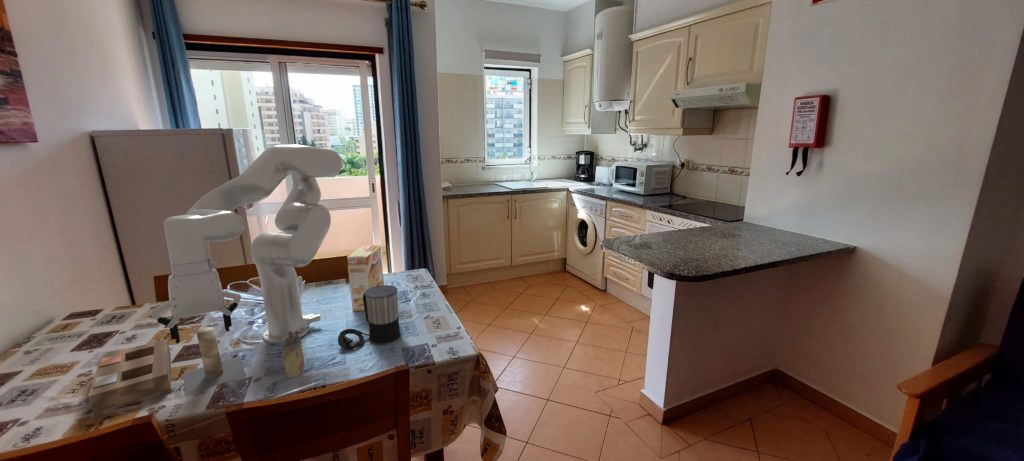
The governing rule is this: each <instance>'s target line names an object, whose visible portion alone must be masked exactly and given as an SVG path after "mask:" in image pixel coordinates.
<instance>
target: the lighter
mask: <svg viewBox="0 0 1024 461" xmlns="http://www.w3.org/2000/svg"><path fill="white" fill-rule="evenodd" d="M289 336H290V338H289ZM283 343H284V344H283V345H282V350H281V351H282V358H283V363H284V371H285V377H286V378H295V377H297V376H300V375H301V374H302V371H303V369H304V367H305V360H304V359H305V358H304V351H303V350H304V349H303V344H302V340H301V337H299V336H298V331H295V333H294V334H292V331H290V332H289V335H288V337H287V338H286V339H285V340H284V342H283Z"/></svg>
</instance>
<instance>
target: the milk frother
mask: <svg viewBox="0 0 1024 461" xmlns="http://www.w3.org/2000/svg"><path fill="white" fill-rule="evenodd" d="M398 291H399V290H398V287H396V286H394V285H389V284H388V285H387V284H384V285H381V286H376V287H372V288H369V289H367V290H366V291H365V292H364V294H363V303H364V310H365V311H364V316H365V321H366V323H368V333H365V332H362V331H360V330H357V329H355V328H346V329H343V330H341V331H340V332H339V334H338V337H337V344H338V345H339V346H340V347H341V348H342V349H346V350H354V349H357V348H359V347H360V346H362V345H363V343H364V339H365V337H364V336H367V337H368V341H369V342H370V343H372V344H376V345H385V344H391V343H393V342H396V341H398V339H399V340H400V338H401V336H402V335H401V334H402V333H401V330H400V321H399V320H400V319H399V304H398V303H399V302H398ZM351 334H352V335H355V336H357V337H358V339H359V340H358V342H355V343H353V342H354V339H353V338H352V339H351V338H349V337H348V336H346V335H351Z"/></svg>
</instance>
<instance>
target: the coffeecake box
mask: <svg viewBox="0 0 1024 461" xmlns="http://www.w3.org/2000/svg"><path fill="white" fill-rule="evenodd" d="M346 260H347V270H348V279H349V289H350V297H351V298H350V300H351V308H352V312H353V311H354V312H357V311H358V312H365V310H364V303H363V294H364V292H365V291H366V290H367V289H369V288H372V287H376V286H381V285H385V282H384V270H383V269H384V268H383V257H382V245H379V244H378V245H376V244H375V245H374V244H367V245H362V246H360V247H359V248H357V249H356V250H355V251H353V252H352V253H350V254H349V255H347V256H346Z"/></svg>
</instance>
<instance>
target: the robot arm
mask: <svg viewBox="0 0 1024 461" xmlns="http://www.w3.org/2000/svg"><path fill="white" fill-rule="evenodd" d="M342 169H343V160H342V158H341V156H340V154H339V153H338V152H337V151H335V150H334V149H329V148H321V147H315V146H310V145H303V144H276V145H271V146H269V147H267V148H266V149H265V150H263V151H262V152H261V154H260V155H259V156H258V157H257V158H256V159H255V160H254V161H253V162H252V163H251V164H250V165H248V167H247V168H245V169H244V171H243V172H241V173H240V175H238V176H236V177H234V178H233V179H230V180H229V181H227V182H225V183H223V184H221V185H220V186H218V187H215V188H214V189H212V190H210V191H209V192H207V193H206V194H204V195H203V196H202V197H200V199H198V200H197V201H196V202H195V203H194V204H193V205H192V206H191V207H190V208H189V209H188V211H187V212H185V214H181V215H174V216H173V215H172V216H169V217H166V219H165V220H164V222H163V230H164V236H165V240H166V247H167V252H168V258H169V263H170V269H171V274H170V275H168V278H167V279H168V281H167V282H168V283H167V289H168V299H169V300H167V301H166V302H164V303H162V304H160V305H159V306H157V307H155V308H154V309H152V310H150V313H149V314H150V316H151V317H152V318H153V319H154V320H156V322H158V323H159V324H161V325H163V326H165V327H167V328H168V329H169V332H170V338H171V340H172V341H173V340H175V343H176V344H179V343H180V342H181V336H180V331H179V327H178V326H179V325H178V322H179V321H180V319H184V318H189V317H195V316H200V315H203V314H204V315H205V314H208V313H209V314H210V313H214V312H217V311H219V312H221V314H222V317H223V318H222V319H223V324H224V330H225V332H227V333H228V332H230V327H232V326H233V322H232V316H231V315H232V313H233V312H234V311H235V310H236V308H237V307H239V306H238V305H239V303H240V301H241V299H242V295H241V294H240V293H236V292H231V291H228V290H223V288H222V282H221V278H220V276H219V273H218V270H217V269H216V268H215V266H218V265H220V261H219V260H220V259H215V258H211V251H210V245H209V244H210V243H215V242H216V243H217V242H218V243H219V242H227V241H228V242H229V241H233V240H235V239H237V238H239V237H240V236H242V234H243V233H244V232H245V228H246V223H245V220H244V218H243V217H242V216H241V215H240V214H239V213H237V212H234V210H236V209H238V208H240V207H243V206H248V205H250V204H255V203H257V202H260V201H262V200H265V199H267V198H269V196H271V195H272V193H273V192H274V191H275V189H276V188H278V186H279V185H280V184H281V183H282V182H283V181H284V180H285V179H286V177H288V176H291V177H292V188H291V190H290V192H289V194H288V195H287V197H286V199H285V200H284V202H283V204H282V205H281V206H280V208H279V210H278V211H277V213H276V215H275V218H274V224H275V227H276V228H277V230H279V231H268V232H267V231H266V232H263V233H260V234H258V235H257V236H256V237H255V238H254V239H253V241H251V242H252V243H251V246H250V253H251V256H252V257H251V258H252V259H253V262H254V264H255V266H256V269H257V273H258V276H259V281H260V287H261V288H260V289H261V293H262V299H263V306H264V312H265V319H266V324H267V325H266V326H267V329H266V330H265V331H264V332H263V334H262V339H263V341H265V342H267V343H272V344H280V343H285V342H284V340H285V339H286V338H287V337H288V335H289V332H290V331H292V334H294V333H295V331H298V336H299V337H300V338H303V337H304V336H305V335H307V334H308V333H309V332H310V330H311V323H316V322H320V321H321V320H322V319H321V315H320V314H316V315H315V314H314V313H311V314H308V315H304V313H303V308H302V300H301V295H300V286H299V279H298V275H297V271H296V269H295V268H303V267H306V266H307V265H309V264H311V262H312V261H313V260H314V258H315V257H316V254H317V253H318V252H319V250H320V247H321V246H322V244H323V242H324V240H325V238H326V236H327V234H328V233H329V230H330V228H331V224H332V223H331V220H332V217H331V213H330V211H329V209H328V208H327V207H326V206H325V205H323V204H320V200H321V197H322V193H321V188H320V186H319V183H318V180H317V178H333V177H336V176H337V175H339V174H340V172H342ZM225 298H227V299H233V300H232V302H231V303H230V304H229V305H228V306H227V305H225ZM168 309H170V312H171V317H170V318H168V317H166V316H164V315H163V314H162V313H163V312H164V311H166V310H168ZM289 338H290V336H289Z"/></svg>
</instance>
